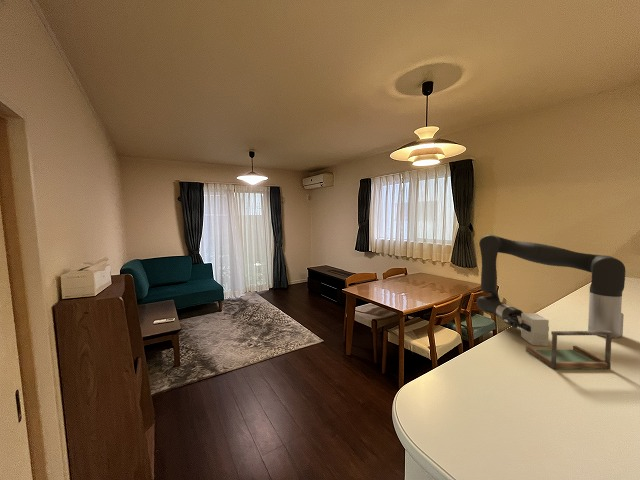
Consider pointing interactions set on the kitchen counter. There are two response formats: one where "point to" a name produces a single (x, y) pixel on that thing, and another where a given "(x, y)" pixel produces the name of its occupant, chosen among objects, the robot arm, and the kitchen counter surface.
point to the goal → (573, 353)
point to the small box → (535, 329)
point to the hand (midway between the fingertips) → (538, 329)
